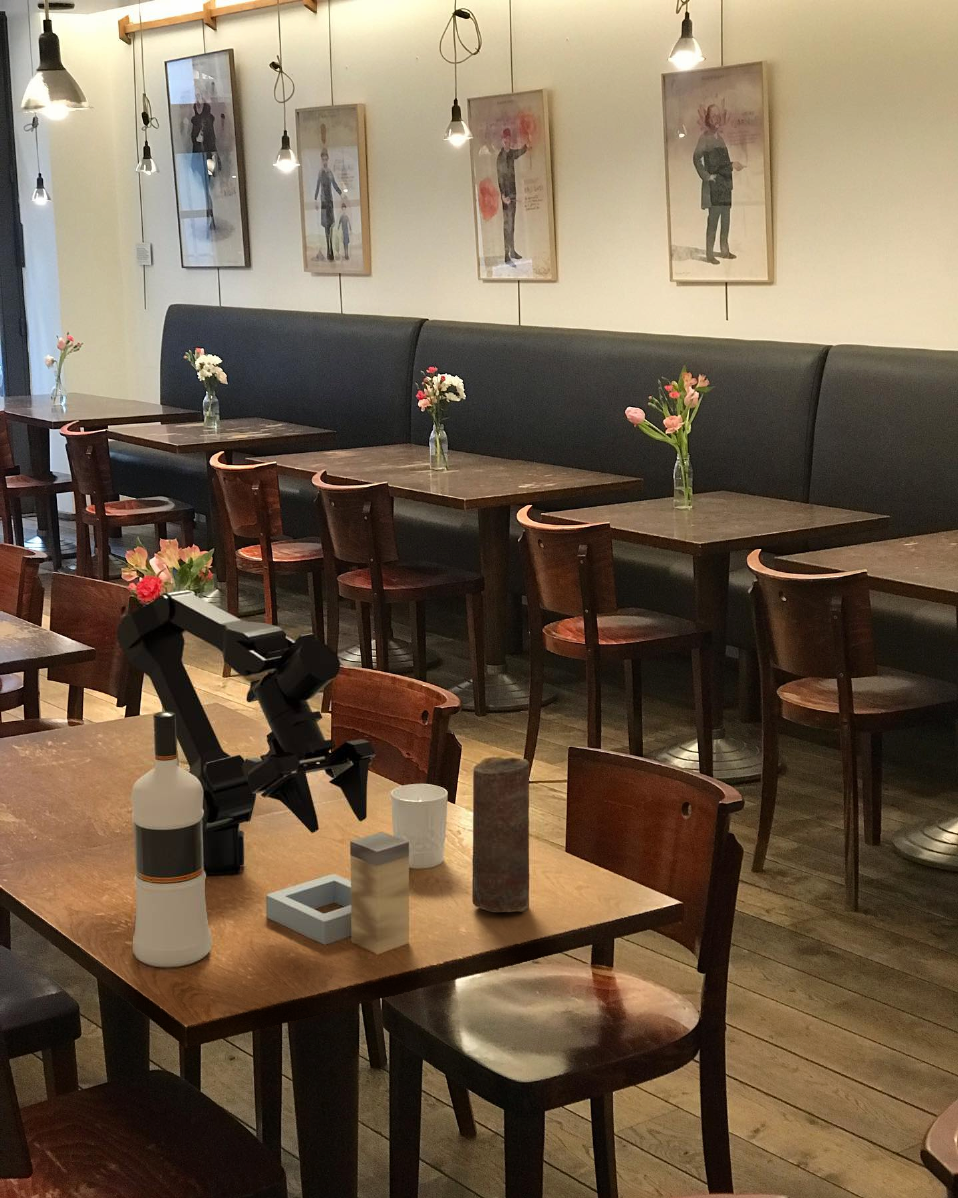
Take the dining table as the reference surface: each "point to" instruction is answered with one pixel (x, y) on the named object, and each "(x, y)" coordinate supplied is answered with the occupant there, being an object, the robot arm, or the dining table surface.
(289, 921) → the frame
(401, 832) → the white cup
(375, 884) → the wooden square peg
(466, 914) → the dining table surface
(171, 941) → the vodka
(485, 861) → the brown textured cylinder
